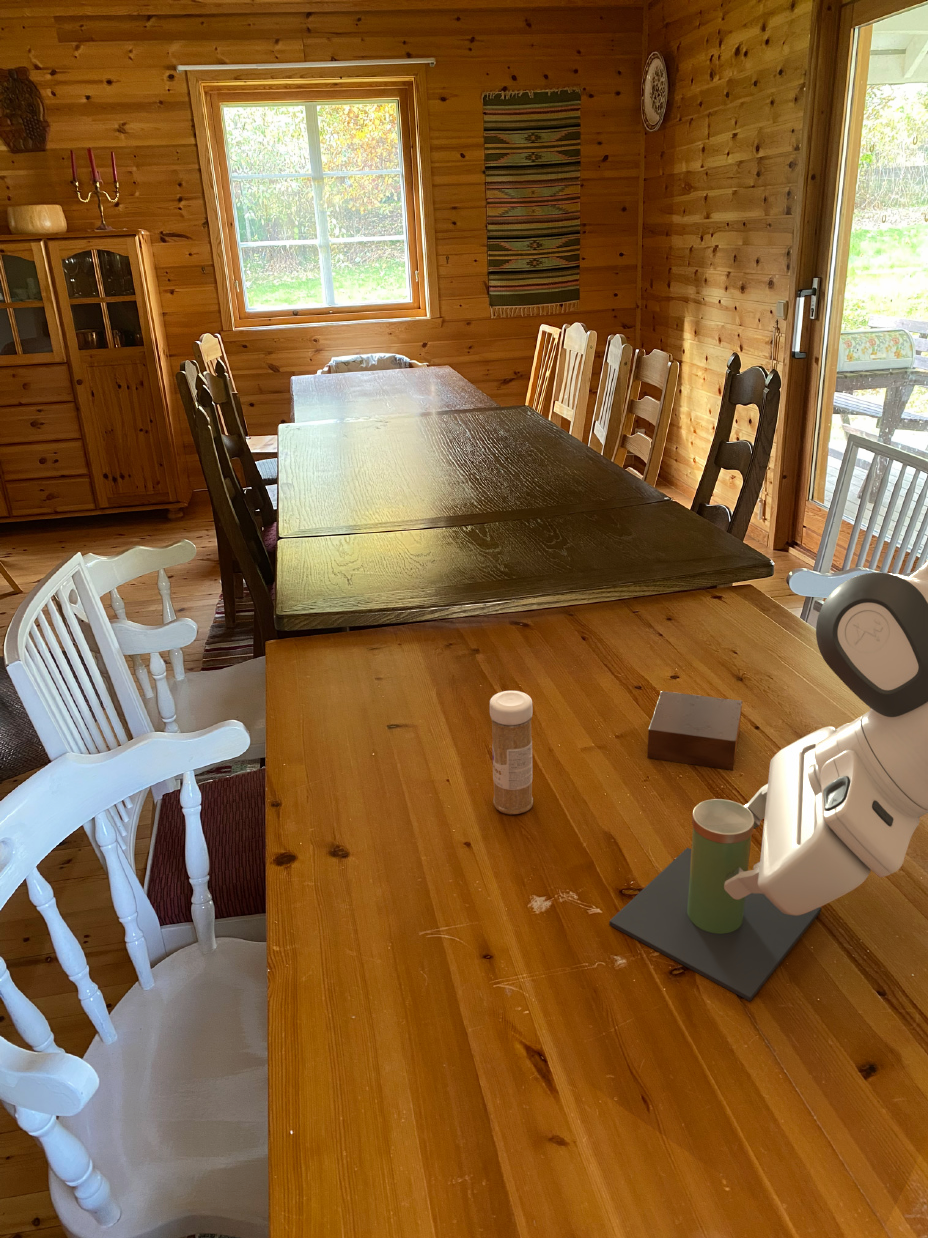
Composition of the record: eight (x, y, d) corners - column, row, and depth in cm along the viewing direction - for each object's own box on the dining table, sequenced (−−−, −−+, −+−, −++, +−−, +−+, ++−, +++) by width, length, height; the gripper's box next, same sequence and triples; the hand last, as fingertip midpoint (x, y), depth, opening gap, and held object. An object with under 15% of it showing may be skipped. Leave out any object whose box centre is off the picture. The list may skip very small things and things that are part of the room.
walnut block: (739, 728, 115) (742, 700, 114) (733, 770, 107) (735, 741, 105) (659, 718, 119) (661, 690, 117) (647, 758, 110) (648, 729, 108)
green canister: (754, 912, 85) (764, 813, 80) (727, 943, 81) (736, 842, 77) (703, 888, 88) (711, 792, 83) (675, 917, 84) (681, 818, 80)
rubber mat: (821, 911, 85) (821, 907, 85) (750, 1002, 76) (750, 997, 75) (687, 851, 94) (687, 847, 94) (609, 925, 85) (609, 921, 84)
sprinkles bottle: (488, 797, 104) (484, 692, 99) (526, 789, 105) (524, 686, 100) (499, 820, 100) (496, 712, 95) (539, 812, 101) (538, 705, 96)
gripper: (839, 692, 83) (721, 767, 90) (842, 824, 66) (696, 904, 73) (886, 741, 84) (765, 812, 91) (901, 885, 66) (750, 959, 73)
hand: (734, 854), depth 82 cm, fingers open, 8 cm apart
